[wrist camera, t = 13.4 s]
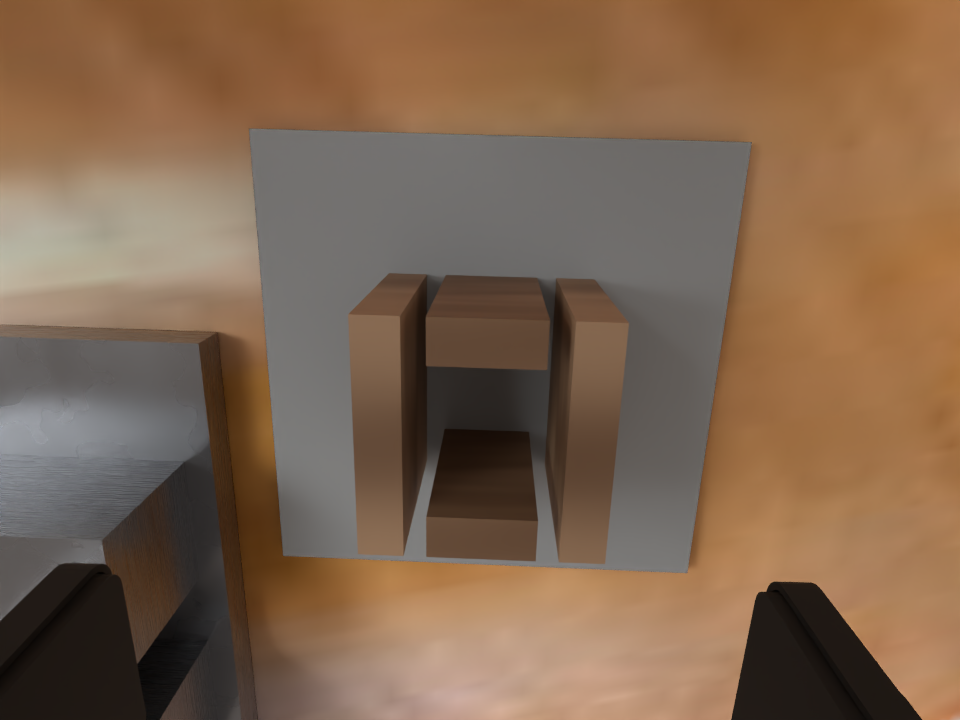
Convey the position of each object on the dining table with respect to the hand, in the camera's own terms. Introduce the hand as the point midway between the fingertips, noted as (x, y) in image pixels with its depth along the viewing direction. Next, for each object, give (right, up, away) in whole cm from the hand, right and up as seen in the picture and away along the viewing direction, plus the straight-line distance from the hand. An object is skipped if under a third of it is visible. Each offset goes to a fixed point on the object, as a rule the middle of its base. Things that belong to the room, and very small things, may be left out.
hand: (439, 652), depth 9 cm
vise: (-15, -5, +17) cm, 23 cm away
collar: (+1, +4, +13) cm, 14 cm away
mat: (+1, +4, +14) cm, 14 cm away
